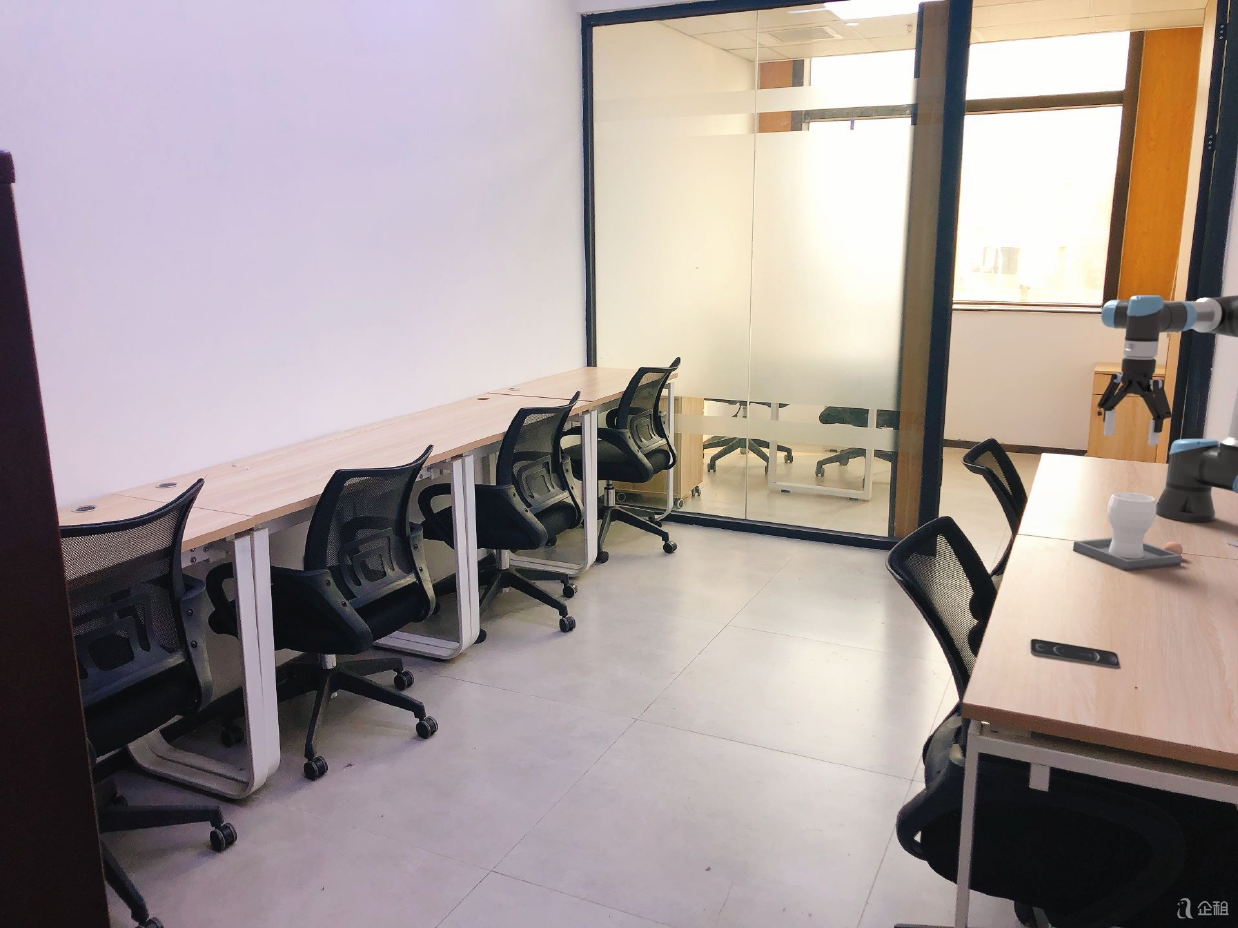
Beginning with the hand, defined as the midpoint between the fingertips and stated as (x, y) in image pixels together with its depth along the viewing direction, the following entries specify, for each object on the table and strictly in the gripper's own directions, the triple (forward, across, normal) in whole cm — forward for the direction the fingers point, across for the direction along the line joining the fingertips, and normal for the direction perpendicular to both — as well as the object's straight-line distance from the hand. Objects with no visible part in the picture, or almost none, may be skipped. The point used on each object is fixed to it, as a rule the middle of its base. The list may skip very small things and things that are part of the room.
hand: (1130, 440), depth 238 cm
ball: (+28, +12, +5) cm, 31 cm away
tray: (+28, +9, -7) cm, 30 cm away
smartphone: (+27, +52, -67) cm, 89 cm away
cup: (+28, +9, -7) cm, 30 cm away
